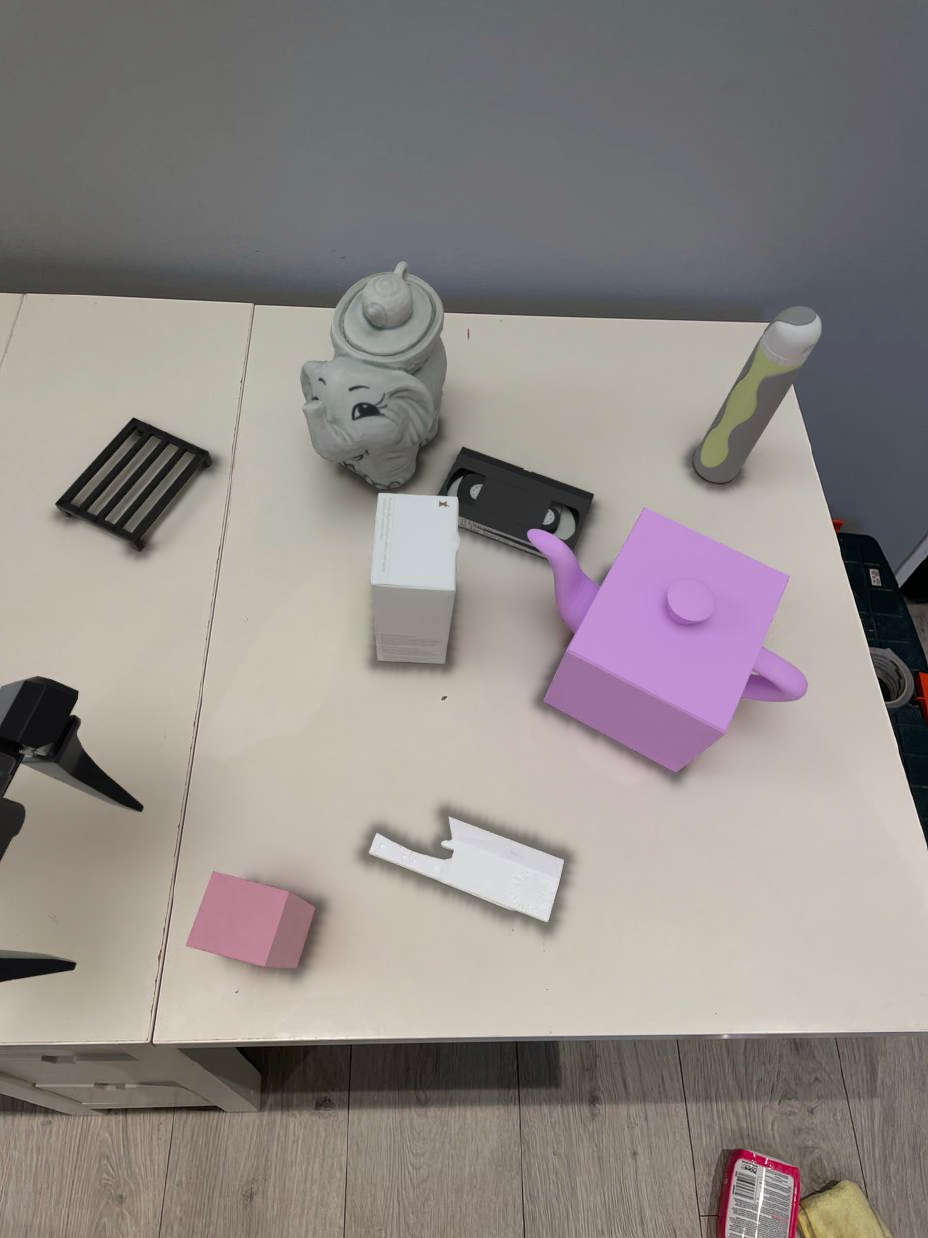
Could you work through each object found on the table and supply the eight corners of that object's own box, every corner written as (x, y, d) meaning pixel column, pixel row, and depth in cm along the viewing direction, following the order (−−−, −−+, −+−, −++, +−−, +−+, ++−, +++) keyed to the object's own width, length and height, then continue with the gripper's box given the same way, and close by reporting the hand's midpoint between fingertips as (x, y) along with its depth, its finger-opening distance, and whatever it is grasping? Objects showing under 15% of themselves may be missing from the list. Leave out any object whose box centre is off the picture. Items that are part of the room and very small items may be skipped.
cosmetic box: (383, 583, 70) (375, 486, 56) (453, 587, 70) (461, 491, 56) (376, 665, 66) (365, 583, 52) (449, 669, 67) (457, 588, 53)
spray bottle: (711, 492, 77) (800, 345, 59) (682, 458, 78) (761, 306, 60) (746, 474, 78) (844, 325, 60) (717, 441, 80) (804, 287, 62)
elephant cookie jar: (335, 537, 72) (309, 403, 55) (276, 427, 77) (236, 274, 60) (482, 476, 76) (500, 334, 59) (416, 376, 81) (415, 219, 64)
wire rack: (139, 551, 70) (133, 542, 68) (62, 514, 71) (54, 503, 70) (212, 462, 75) (208, 450, 73) (139, 428, 76) (133, 416, 75)
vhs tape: (431, 516, 74) (432, 505, 72) (461, 458, 77) (462, 446, 75) (565, 566, 72) (569, 556, 70) (590, 505, 75) (594, 493, 73)
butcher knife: (393, 795, 61) (392, 792, 60) (564, 861, 60) (566, 859, 59) (368, 854, 59) (368, 852, 58) (545, 924, 58) (548, 923, 57)
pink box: (234, 951, 56) (185, 946, 44) (254, 891, 58) (212, 870, 46) (297, 968, 55) (264, 967, 44) (316, 907, 57) (289, 891, 46)
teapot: (546, 541, 73) (572, 451, 60) (783, 659, 69) (865, 589, 56) (472, 663, 67) (485, 592, 54) (728, 801, 63) (806, 758, 50)
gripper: (-332, 1067, 26) (90, 1101, 35) (-49, 608, 34) (233, 735, 43) (-332, 1000, 33) (16, 1043, 43) (-100, 637, 41) (150, 740, 51)
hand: (108, 884), depth 45 cm, fingers open, 9 cm apart
